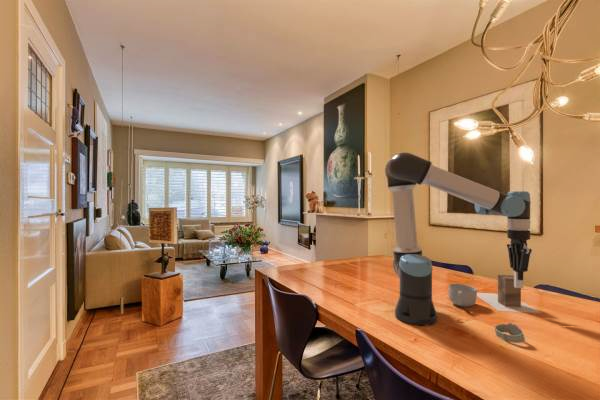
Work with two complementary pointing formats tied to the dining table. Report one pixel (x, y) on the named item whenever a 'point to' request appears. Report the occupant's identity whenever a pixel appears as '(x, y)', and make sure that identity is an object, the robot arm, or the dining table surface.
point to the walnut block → (508, 292)
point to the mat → (493, 301)
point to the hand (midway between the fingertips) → (518, 287)
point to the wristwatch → (510, 332)
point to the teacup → (462, 294)
